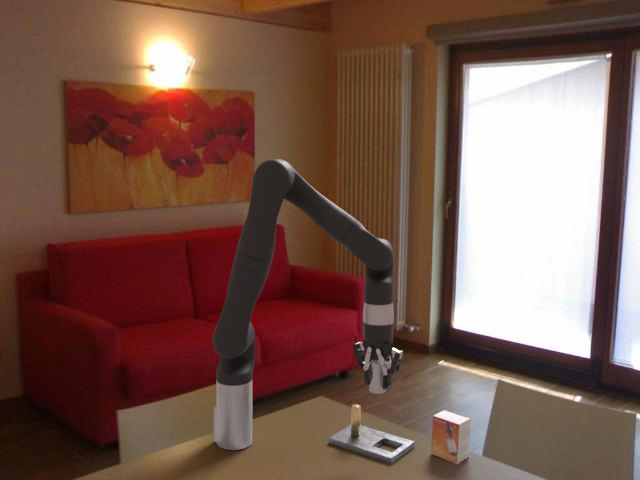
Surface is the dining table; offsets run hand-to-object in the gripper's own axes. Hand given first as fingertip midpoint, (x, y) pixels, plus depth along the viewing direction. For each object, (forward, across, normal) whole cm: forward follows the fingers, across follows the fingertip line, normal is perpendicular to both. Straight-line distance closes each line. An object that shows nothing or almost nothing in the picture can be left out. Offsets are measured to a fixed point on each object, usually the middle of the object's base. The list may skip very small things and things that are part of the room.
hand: (377, 386), depth 172 cm
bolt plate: (+18, -4, +3) cm, 19 cm away
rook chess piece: (+2, 0, 0) cm, 2 cm away
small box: (+19, +15, +11) cm, 26 cm away
